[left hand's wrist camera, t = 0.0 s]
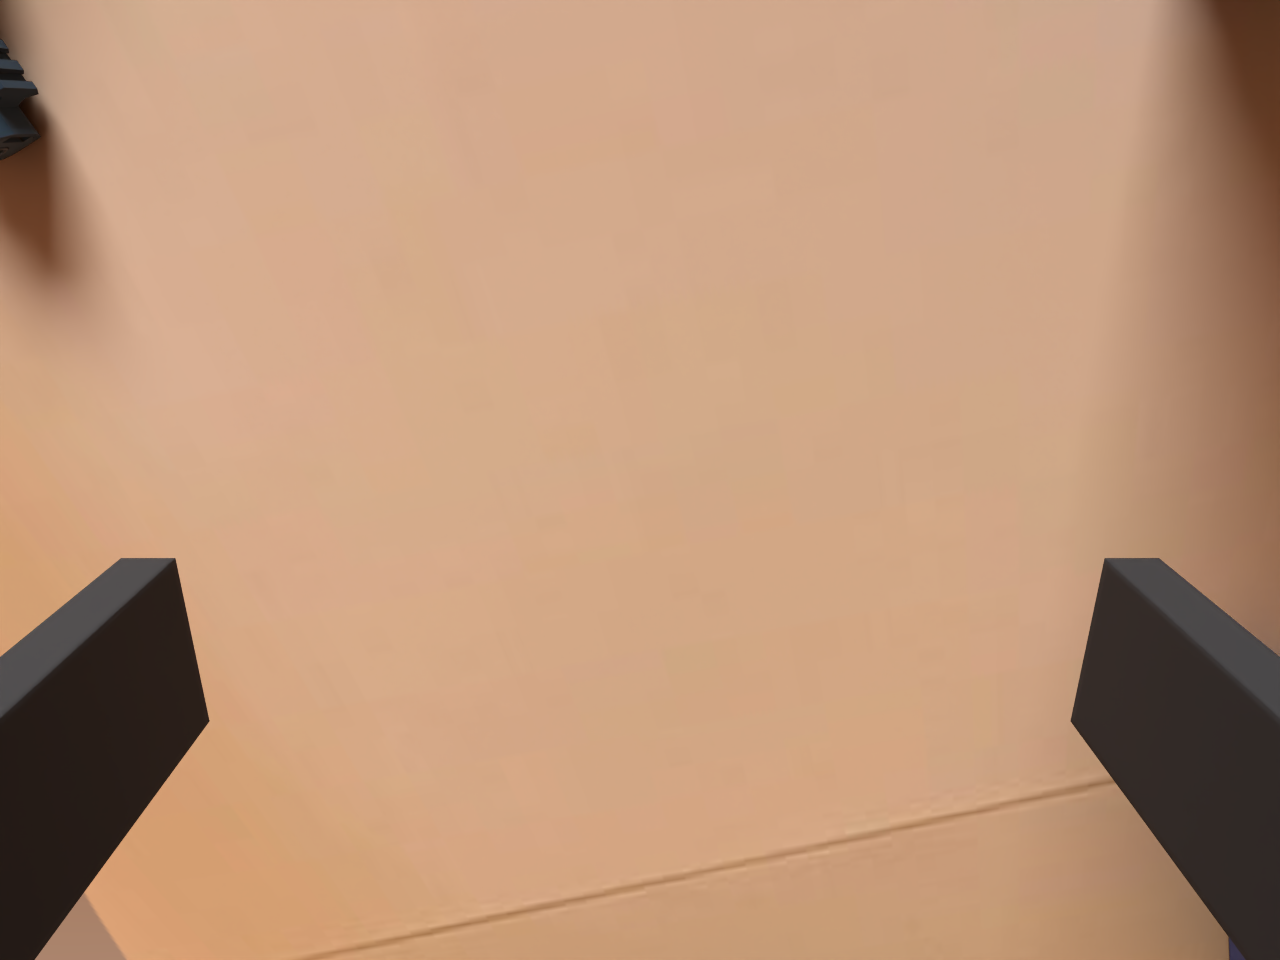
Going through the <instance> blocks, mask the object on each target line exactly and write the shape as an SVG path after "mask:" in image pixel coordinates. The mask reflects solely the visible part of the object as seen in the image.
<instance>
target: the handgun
mask: <svg viewBox="0 0 1280 960" xmlns="http://www.w3.org/2000/svg"><path fill="white" fill-rule="evenodd" d="M6 53H9V49H8V47H7V46H6V45H5V43H4V42H3V40H0V160H2V159H5V158H7V157H9V156H11V155H13V154H15V153H16V152H18V151H20V150H21V149H23V148H24V147H26V146H27V145H29V144H31V143H32V142H34V141H35V140H37V139H38V138H40V137H41V136H40V135H39V133H38V132H37V131H36V129H35V128H34V127H33V125H32V124H31V123H30V121H29V120H28V118H27V117H26V116H25V114H24V113H23V112H22V110H21V109H20V108H19V104H20V103H21V102H22V101H23V99H24V98H27V97H30V96H34V95H37V94H38V90H37V88H36V87H35V85H34V84H33V82H30V81H26V80H25V79H24V78H23V76H22V75H21V74H24V70H23V68H22V67H21V66H20V64H19V63H18V61H16V60H11V59H10V58H9V57H8V55H7V54H6Z"/></svg>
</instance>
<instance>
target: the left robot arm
mask: <svg viewBox="0 0 1280 960" xmlns="http://www.w3.org/2000/svg"><path fill="white" fill-rule="evenodd" d="M208 722H209V717H208V712H207V708H206V703H205V698H204V693H203V688H202V684H201V679H200V674H199V669H198V664H197V660H196V655H195V650H194V645H193V641H192V636H191V631H190V626H189V621H188V617H187V612H186V607H185V602H184V598H183V593H182V588H181V583H180V578H179V574H178V569H177V564H176V559H175V558H121V559H120V560H118V561H117V562H116V563H115V564H113V565H112V566H111V567H110V568H109V569H107V570H106V571H105V572H104V573H102V574H101V575H100V576H99V577H98V578H96V579H95V580H94V581H93V582H91V583H90V584H89V585H88V586H87V587H85V588H84V589H83V590H82V591H80V592H79V593H78V594H77V595H76V596H74V597H73V598H72V599H71V600H69V601H68V602H67V603H66V604H65V605H63V606H62V607H61V608H60V609H58V610H57V611H56V612H55V613H54V614H52V615H51V616H50V617H49V618H47V619H46V620H45V621H44V622H43V623H41V624H40V625H39V626H38V627H36V628H35V629H34V630H33V631H32V632H30V633H29V634H28V635H27V636H25V637H24V638H23V639H22V640H20V641H19V642H18V643H17V644H16V645H14V646H13V647H12V648H11V649H9V650H8V651H7V652H6V653H5V654H3V655H2V656H1V657H0V960H35V958H36V957H37V956H38V954H39V953H40V951H41V950H42V949H43V947H44V946H45V945H46V943H47V942H48V941H49V939H50V938H51V936H52V935H53V934H54V932H55V931H56V930H57V928H58V927H59V926H60V924H61V923H62V921H63V920H64V919H65V917H66V916H67V915H68V913H69V912H70V911H71V909H72V908H73V906H74V905H75V904H76V902H77V901H78V900H79V898H80V897H81V896H82V894H83V893H84V891H85V890H86V889H87V887H88V886H89V885H90V883H91V882H92V881H93V879H94V878H95V876H96V875H97V874H98V872H99V871H100V870H101V868H102V867H103V866H104V864H105V863H106V861H107V860H108V859H109V857H110V856H111V855H112V853H113V852H114V851H115V849H116V848H117V846H118V845H119V844H120V842H121V841H122V840H123V838H124V837H125V836H126V834H127V833H128V831H129V830H130V829H131V827H132V826H133V825H134V823H135V822H136V821H137V819H138V818H139V816H140V815H141V814H142V812H143V811H144V810H145V808H146V807H147V806H148V804H149V803H150V801H151V800H152V799H153V797H154V796H155V795H156V793H157V792H158V791H159V789H160V788H161V786H162V785H163V784H164V782H165V781H166V780H167V778H168V777H169V776H170V774H171V773H172V771H173V770H174V769H175V767H176V766H177V765H178V763H179V762H180V761H181V759H182V758H183V756H184V755H185V754H186V752H187V751H188V750H189V748H190V747H191V746H192V744H193V743H194V741H195V740H196V739H197V737H198V736H199V735H200V733H201V732H202V731H203V729H204V728H205V727H206V725H207V724H208ZM1071 722H1072V724H1073V725H1074V727H1075V728H1076V729H1077V731H1078V732H1079V733H1080V735H1081V736H1082V737H1083V739H1084V740H1085V742H1086V743H1087V744H1088V746H1089V747H1090V748H1091V750H1092V751H1093V752H1094V754H1095V755H1096V756H1097V758H1098V759H1099V761H1100V762H1101V763H1102V765H1103V766H1104V767H1105V769H1106V770H1107V771H1108V773H1109V774H1110V776H1111V777H1112V778H1113V780H1114V781H1115V782H1116V784H1117V785H1118V786H1119V788H1120V789H1121V791H1122V792H1123V793H1124V795H1125V796H1126V797H1127V799H1128V800H1129V801H1130V803H1131V804H1132V806H1133V807H1134V808H1135V810H1136V811H1137V812H1138V814H1139V815H1140V816H1141V818H1142V819H1143V821H1144V822H1145V823H1146V825H1147V826H1148V827H1149V829H1150V830H1151V831H1152V833H1153V834H1154V836H1155V837H1156V838H1157V840H1158V841H1159V842H1160V844H1161V845H1162V846H1163V848H1164V849H1165V851H1166V852H1167V853H1168V855H1169V856H1170V857H1171V859H1172V860H1173V861H1174V863H1175V864H1176V866H1177V867H1178V868H1179V870H1180V871H1181V872H1182V874H1183V875H1184V876H1185V878H1186V879H1187V881H1188V882H1189V883H1190V885H1191V886H1192V887H1193V889H1194V890H1195V891H1196V893H1197V894H1198V896H1199V897H1200V898H1201V900H1202V901H1203V902H1204V904H1205V905H1206V906H1207V908H1208V909H1209V911H1210V912H1211V913H1212V915H1213V916H1214V917H1215V919H1216V920H1217V921H1218V923H1219V924H1220V926H1221V927H1222V928H1223V930H1224V931H1225V932H1226V934H1227V935H1228V936H1229V938H1230V939H1231V941H1232V942H1233V943H1234V945H1235V946H1236V947H1237V949H1238V950H1239V951H1240V953H1241V954H1242V956H1243V957H1244V958H1245V960H1280V657H1279V656H1278V655H1277V654H1275V653H1274V652H1273V651H1272V650H1271V649H1269V648H1268V647H1267V646H1266V645H1264V644H1263V643H1262V642H1261V641H1260V640H1258V639H1257V638H1256V637H1255V636H1253V635H1252V634H1251V633H1250V632H1248V631H1247V630H1246V629H1245V628H1244V627H1242V626H1241V625H1240V624H1239V623H1237V622H1236V621H1235V620H1234V619H1233V618H1231V617H1230V616H1229V615H1228V614H1226V613H1225V612H1224V611H1223V610H1222V609H1220V608H1219V607H1218V606H1217V605H1215V604H1214V603H1213V602H1212V601H1211V600H1209V599H1208V598H1207V597H1206V596H1204V595H1203V594H1202V593H1201V592H1200V591H1198V590H1197V589H1196V588H1195V587H1193V586H1192V585H1191V584H1190V583H1189V582H1187V581H1186V580H1185V579H1184V578H1182V577H1181V576H1180V575H1179V574H1178V573H1176V572H1175V571H1174V570H1173V569H1171V568H1170V567H1169V566H1168V565H1167V564H1165V563H1164V562H1163V561H1162V560H1160V559H1159V558H1105V559H1104V564H1103V569H1102V574H1101V578H1100V583H1099V588H1098V593H1097V598H1096V602H1095V607H1094V612H1093V617H1092V621H1091V626H1090V631H1089V636H1088V641H1087V645H1086V650H1085V655H1084V660H1083V664H1082V669H1081V674H1080V679H1079V684H1078V688H1077V693H1076V698H1075V703H1074V707H1073V712H1072V717H1071Z"/></svg>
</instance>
